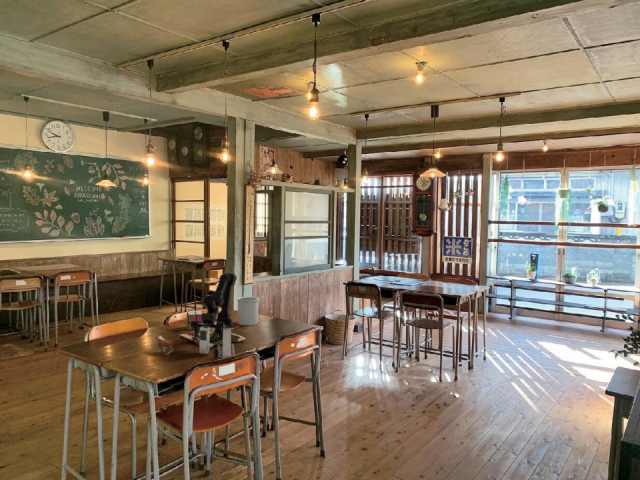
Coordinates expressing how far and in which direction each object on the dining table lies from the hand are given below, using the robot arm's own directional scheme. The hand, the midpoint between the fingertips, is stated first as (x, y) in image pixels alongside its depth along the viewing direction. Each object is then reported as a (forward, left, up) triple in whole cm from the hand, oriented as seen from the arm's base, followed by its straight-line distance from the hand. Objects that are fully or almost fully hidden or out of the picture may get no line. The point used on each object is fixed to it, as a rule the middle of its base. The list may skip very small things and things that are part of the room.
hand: (203, 339), depth 252 cm
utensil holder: (+10, +72, -8) cm, 73 cm away
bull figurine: (-21, -2, -8) cm, 22 cm away
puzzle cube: (-21, +53, -8) cm, 58 cm away
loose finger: (0, +1, -7) cm, 8 cm away
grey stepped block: (+12, +1, -7) cm, 14 cm away
